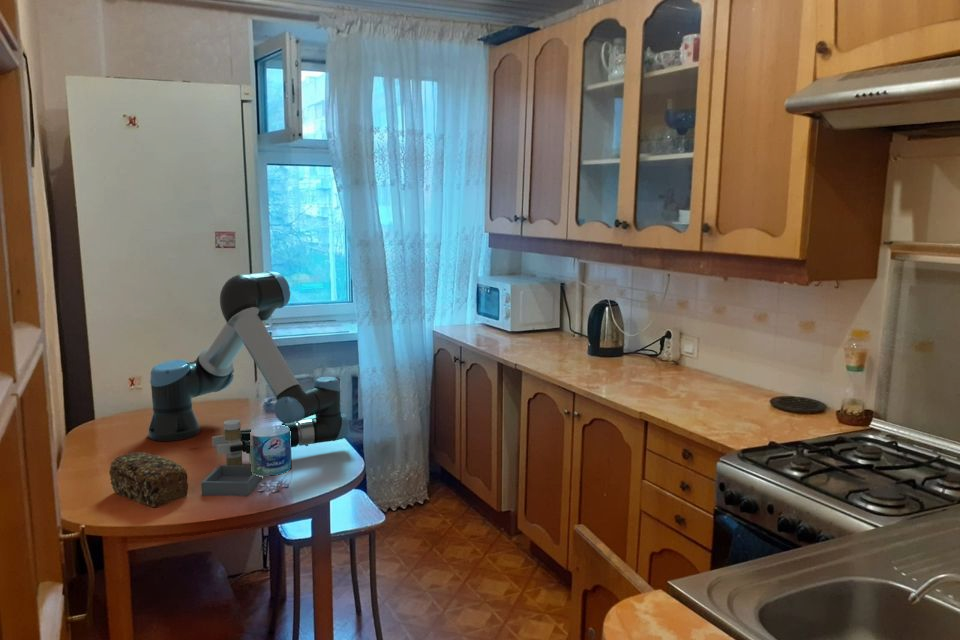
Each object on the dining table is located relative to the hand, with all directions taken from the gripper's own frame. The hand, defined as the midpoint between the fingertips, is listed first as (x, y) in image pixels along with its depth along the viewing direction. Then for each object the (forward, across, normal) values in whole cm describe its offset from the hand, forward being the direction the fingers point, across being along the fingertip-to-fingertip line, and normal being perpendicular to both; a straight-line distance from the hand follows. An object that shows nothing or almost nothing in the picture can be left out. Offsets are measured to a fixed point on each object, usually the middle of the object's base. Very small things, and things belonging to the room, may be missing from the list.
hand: (214, 445), depth 196 cm
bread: (+17, -10, -7) cm, 21 cm away
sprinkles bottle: (-5, 0, -7) cm, 9 cm away
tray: (-2, -15, -7) cm, 16 cm away
